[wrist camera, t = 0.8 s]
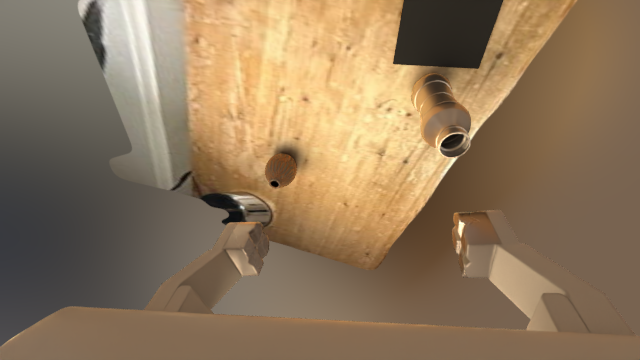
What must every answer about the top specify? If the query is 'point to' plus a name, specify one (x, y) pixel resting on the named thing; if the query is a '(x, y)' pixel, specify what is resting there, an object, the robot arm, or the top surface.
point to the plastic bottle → (441, 116)
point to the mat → (445, 32)
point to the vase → (280, 170)
